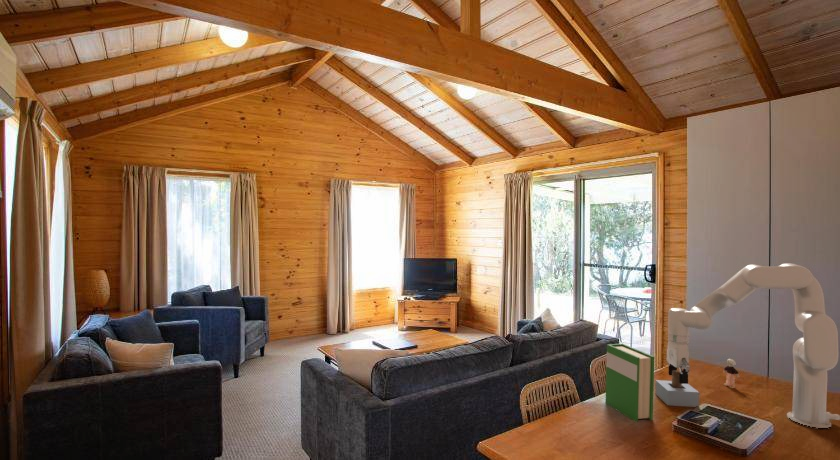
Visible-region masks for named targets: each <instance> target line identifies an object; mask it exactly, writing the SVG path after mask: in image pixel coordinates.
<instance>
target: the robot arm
mask: <svg viewBox="0 0 840 460" xmlns="http://www.w3.org/2000/svg"><path fill="white" fill-rule="evenodd" d="M757 289H761V290H791V291H792V294H793V299H794V324H795V327H796V329H798V330H799V331H800V332H801V333H802V335H803V336H802V337H799V338H798V339H797V340H796V341H794V343H793V346H792V359H793V383H792V411H788V412H787V413H786V417H787V419H789V418H790V419H791V420H793V421H795V422H798V423H800V424H799V425H801V424H803V425H802V426H804V425H807V426H806V427H808V426H810V427H809V428H812V427H816V428H815V429H818V428H828V427H831V428H832V423H831V422H830V421H832V420H835V421H840V414H837V413H831V412H830V411H827V397H828V393H827V392H828V371H830V370H832V369H834V368H835V367H836V366H837V365H838V362H839V333H838V327H837V325H836V323H835V321H834V320H833V318H831V317H830V316H829V315H827V314H826V307H825V306H826V305H825V297H824V296H825V295H824V292H823V291H824V290H823V288H822V286H821V284H820V282H819V280H818V279H817V278H816V277H815V276H814V275H813V274H812V272H811V271H810V269H808V268H807V267H805V266H802V265H799V264H796V263H789V262H785V263H781V264H780V265H778V266H777V265H776V266H775V265H774V266H770V265H769V266H764V265H759V264H755V263H753V264H748V265H746V266H744V267H743V268H741V269H740V270H739V271H738V272H736V273H735V274H734V275H733V276H732V277H730V278H729V279H728V280H727V281H726V282H725V283H723V284H722V285H721V286H719V288H717V289H715V290H714V291H712V292H711V293H709V294H707V295H706V296H704V298H702V299H701V300H700V301H699V302H697V303H696V304H695V305H694V306H693V307H691V308H690V309H689V310H687V309H685V308H682V307H672V308H670V309H669V310H668V312H667V313H668V314H667V316H668V320H667V322H668V324H667V340H668V342H667V346H666V348H667V349H666V362H668V375H669V376H672V371H673V370H677V371H680V373H679V383H680V384H689V374H690V368H691V366H690V359H689V357H690V354H689V345H688V344H689V343H690V328H691V329H695V330H701V331H705V330H708V329H710V328H711V327H712V325H713V318H712V317H714V316H715V315H716V314H717V313H719V312H720V311H722V310H724V309H726V308H729V307H733V306H735V305H738V304H740V303H741V302H742V301H743V300H745V299H746V298H747V297H748V296H750V295H751V294H752V293H753V292H755V291H756V290H757ZM790 419H789V420H790ZM791 420H790V421H791ZM793 421H792V422H793ZM795 422H794V423H795ZM798 423H797V424H798ZM828 429H829V428H828Z"/></svg>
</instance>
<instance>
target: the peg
mask: <svg viewBox="0 0 840 460" xmlns="http://www.w3.org/2000/svg"><path fill="white" fill-rule="evenodd" d="M679 373H680V370H678V369H677V370H673V371H672V375H671V381H672V388H682V384H680V383H679Z"/></svg>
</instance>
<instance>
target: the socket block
mask: <svg viewBox="0 0 840 460" xmlns="http://www.w3.org/2000/svg"><path fill="white" fill-rule="evenodd" d="M654 387H655V388H654V390H655V391H654V392H655V393H654V394H655V395H656V396H657V397H658V399H660V400H661V401H663V403H664V404H666V406H674V407H675V406H676V407H688V408H689V407H692V408H693V407H694V408H697V407H696V406H699V407H700V392H699V391H698V390H697V389H696V388H694V386H692V385H690V384H689V383H688V384H682V388H672V380H663V379H660V380H659V379H656V380H655V383H654Z"/></svg>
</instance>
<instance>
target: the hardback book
mask: <svg viewBox="0 0 840 460" xmlns="http://www.w3.org/2000/svg"><path fill="white" fill-rule="evenodd" d="M605 368H606V369H605V371H606V372H605V373H606V375H605V404H607V405H608V404H609V405H608V406H610V407H612V408H613V409H615V410H616V409H617V410H616V411H618V412H620V413H621V414H623V415H624V416H626V417H627V418H629V419H630V420H632V421H633V422H635V423H636V422H639V420H640V419H648V420H649V421H653V418H654V392H655V391H654V390H655V388H654V387H655V383H654V382H655V355H652V354H649V353H646V352H644V351H642V350H640V349H637V348H634V347H632V346H629V345H628V344H625V343H613V344H611V343H609V344H606V367H605Z"/></svg>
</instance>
